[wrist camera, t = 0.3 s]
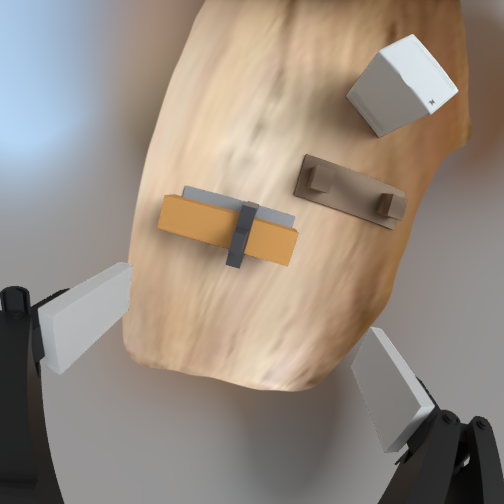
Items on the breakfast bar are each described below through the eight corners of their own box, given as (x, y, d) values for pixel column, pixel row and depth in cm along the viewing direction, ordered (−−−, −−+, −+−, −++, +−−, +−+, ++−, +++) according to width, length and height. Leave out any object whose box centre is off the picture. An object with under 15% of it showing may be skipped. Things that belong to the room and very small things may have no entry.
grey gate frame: (248, 201, 37) (238, 206, 25) (259, 204, 37) (255, 211, 25) (234, 248, 39) (220, 274, 27) (245, 251, 39) (235, 278, 27)
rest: (305, 154, 36) (310, 150, 32) (403, 192, 36) (418, 193, 32) (293, 195, 38) (297, 195, 33) (392, 229, 38) (405, 234, 33)
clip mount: (186, 185, 38) (176, 185, 34) (295, 216, 38) (298, 219, 34) (176, 228, 40) (165, 232, 35) (281, 258, 40) (283, 267, 35)
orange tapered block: (174, 194, 34) (164, 195, 31) (295, 228, 34) (298, 233, 31) (167, 224, 35) (157, 227, 32) (286, 258, 35) (287, 266, 32)
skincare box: (404, 119, 34) (462, 93, 19) (376, 140, 35) (432, 118, 20) (370, 76, 33) (414, 31, 17) (341, 95, 34) (378, 49, 19)
